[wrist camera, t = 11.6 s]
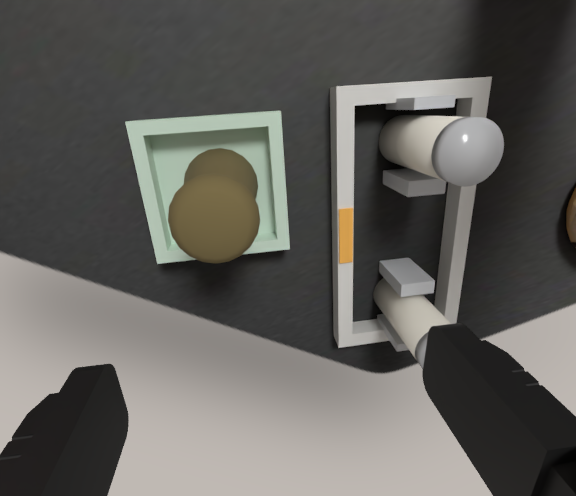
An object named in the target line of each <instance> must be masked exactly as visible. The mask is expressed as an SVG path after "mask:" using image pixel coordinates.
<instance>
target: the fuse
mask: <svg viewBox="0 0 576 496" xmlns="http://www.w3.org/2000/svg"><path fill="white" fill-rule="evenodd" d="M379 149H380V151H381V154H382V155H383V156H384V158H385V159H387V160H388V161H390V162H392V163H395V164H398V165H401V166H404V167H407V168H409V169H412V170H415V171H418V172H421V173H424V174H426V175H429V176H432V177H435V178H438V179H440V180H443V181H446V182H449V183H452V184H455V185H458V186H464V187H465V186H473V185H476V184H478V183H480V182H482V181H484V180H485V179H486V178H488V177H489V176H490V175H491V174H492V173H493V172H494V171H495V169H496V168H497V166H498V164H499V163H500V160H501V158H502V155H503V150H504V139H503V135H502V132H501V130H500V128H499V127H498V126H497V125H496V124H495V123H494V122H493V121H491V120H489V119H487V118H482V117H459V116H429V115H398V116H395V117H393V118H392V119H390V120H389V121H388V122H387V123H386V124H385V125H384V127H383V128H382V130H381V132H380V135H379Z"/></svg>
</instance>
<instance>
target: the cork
mask: <svg viewBox="0 0 576 496" xmlns="http://www.w3.org/2000/svg"><path fill="white" fill-rule="evenodd" d="M257 190H258V182H257V175H256V173H255V171H254V169H253V167H252V165H251V164H250V163H249V162H248V161H247V160H246V159H245V158H244V157H243V156H242V155H240V154H238V153H236V152H235V151H233V150H228V149H223V148H217V149H209V150H207V151H205V152H203V153H201V154H198V155H197V156H196V157H195V158H194V159H193V160H192V161H191V162H190V163H189V166H188V168H187V170H186V172H185V176H184V185H183V186H182V187H181V188H180V189H179V190H178V191H177V192H176V193H175V195H174V197H173V199H172V201H171V203H170V205H169V213H168V223H169V227H170V231H171V235H172V237H173V239H174V240H175V242H176V243H177V245H178V247H179V248H180V249H181V250H183V251H184V252H185V253H186V254H187V255H189V256H190V257H192V258H195V259H197V260H199V261H201V262H207V263H215V264H216V263H223V262H229V261H231V260H233V259H235V258H237V257H239V256H241V255H242V254H243V253H244V252H245V251H247V250H248V249H249V248H250V247H251V245H252V243H253V242H254V240H255V238H256V236H257V234H258V230H259V225H260V215H259V208H258V204H257V202H256V196H257Z"/></svg>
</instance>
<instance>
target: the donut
mask: <svg viewBox="0 0 576 496" xmlns="http://www.w3.org/2000/svg"><path fill="white" fill-rule="evenodd" d="M566 227H567V231H568V235H569V238H570V241H571V244H572V245H573V246H574V247H576V188H575V190H574V192H573V194H572V197H571V199H570V201H569V204H568V207H567V215H566Z"/></svg>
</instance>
